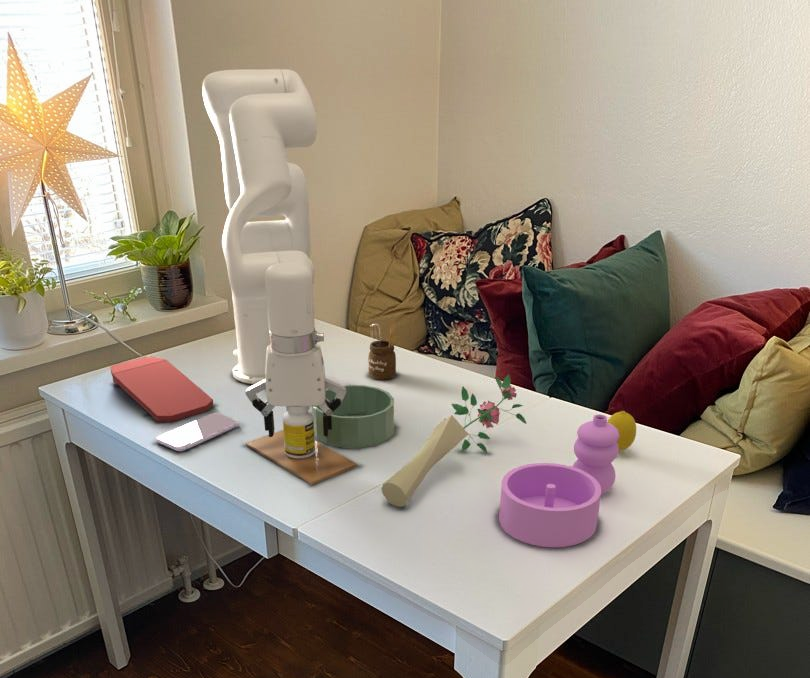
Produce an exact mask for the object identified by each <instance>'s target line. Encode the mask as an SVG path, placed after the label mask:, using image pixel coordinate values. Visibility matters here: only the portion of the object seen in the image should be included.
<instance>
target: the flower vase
mask: <svg viewBox="0 0 810 678" xmlns="http://www.w3.org/2000/svg"><path fill="white" fill-rule="evenodd" d="M494 380H495V381H496V384H497V385H498V388H499V390H500V393H501V397H502V398H501V400H500V401H499V402H498V403H497V404H496V403H495V402H494V401H493V402H492V401H490V400H487V401H483V402H482V404H479V408H477V409H476V410H477V412H478V413H477V418H475V419H473V420H472V421H471V417H469V423H468V424H465V425H464V426H462V425H461V424H460V422H459V421H458V420H457V418H455V417H454V416H453V415H457V416H463V415H465V418H464V421H466V419H467V416H471V413H472V411H469V408H468V406H467V401H468V400H469V399H470V405H471V406H472V408H471V409H473V407H475V406H477V405H478V401H477V397H476V396H475V395H474V393H473V392H472V393H471V395H469V393H468V390H467V389H466V387H465V386H462V387H461V391H460V393H461V400H462V401H464V403H465V405H464V406H463V405H461V404H458V403H451V406H452V409H454V411H455V412H453V415H452V414H451V415H449V416H448V417H447V418H444V419H443V420H442V421H441V422H439V423H438V424H437V425H436V426H435V428H434V429H433V431H432V432H431V433H430V435H429V437H428V438H427V439H426V441H425V442H424V444H423V445H422V447H421V448H420V450H419V451H418V452H417V453H416V454H415V455H414V456H413V457H412V458H411V459H410V460H408V462H407V463H406V464H405V465H404V466H403V467H401V468H400V469H399V470H398V471H396V472H395V473H394V474H393V475H392V476H391V477H390V478H388V479H387V480H386V481H385V482H384V483H383V484H382V485H381V493H382V495H383V497H384V498H385V500H386V501H387V502H389V504H391V505H392V506H396V507H399V508H400V507H404V506H406V505H407V503H408V502H409V501H410V499H411V498H412V496H413V495H414V493H415V492H416V490H417V489H418V488H419V487H420V485H421V484H422V482H423V481H424V479H425V478H426V477H427V475H428V474H429V473H430V471H431V470H432V469H433V467H435V466H436V464H438V463H439V462H440V461H441V460H442V459H443V458H445V457H446V455H448V454H449V452H451V451H452V450H453V449H454V448H455V447H457V445H458V444H460V443H461V442H462V441H463V442H462V444H461V452H462V453H463V452H465V451H467V450H468V449H469V448H470V447H471V442H470V441H469V440H470V439H472V441H473V442H475V440H474V439H473V438H472V434H469V433H468V431H467V430H466V428H467V427H469V426H470V425H472V424H473V423H475V422H477V421H478V422H479V423H480V424H481V425H482V427H485V426H486V427H485V428H486V429H490V428H494V425H493V424H495V425H498V424H499V422H500V414H501V411H503V412H506V413H508V414H511V415H513V416H515V417H516V419H518V420H519V421H521V422H522V423H523V424H525V425H527V421H526V419H525V417H524V416H523V414H521V413H519V412H518V413H516V414H514V413H512V412H509V411H510V409H506V410H504V409H502V408H500V407H499V405H500V404H502V403H503V401H505V400H506V399H507V401H510V400H513V398H514V399H515V398H517V395H518V394H517V390H516V388H515V386H513V387H512V385H511V376H510V374H507V375H506V376H505V377H504V378H503V380H501V379H500V378H499V377H496V376H494ZM521 407H524V405H523V404H521V403H515V404H513V405H512V407H511V409H516V408H521ZM500 410H501V411H500ZM467 436H469V438H468V439H466V437H467ZM474 436H475V437H478V438H479V439H483V440H490V439H491V437H490V436H489V435H488V434H487V433H485V432H483V431H479V432H478V434H477V435H475V434H474ZM476 446H477V447H478V448H479V449H480V450H481V451H483V452H484V453H485V454H488V449H487V447H486V446H485V444H484V443H482V442H478V443H476Z"/></svg>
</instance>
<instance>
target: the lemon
mask: <svg viewBox="0 0 810 678" xmlns="http://www.w3.org/2000/svg"><path fill="white" fill-rule="evenodd" d="M607 422H608V423H610V424H612V425H613V426H614V427H616V428H617V429H618V432H619V439H618V440H617V444H618V447H619V452H621V451H624V450H627V449H628V448H630V447H631V446H632V445H633V443H634V442H635V440H636V436H637V424H636V420H635V418H634V417H633V416H632V415H631V414H630V413H628V412H626V411H625V410H621V411H618V412H615V413H613V414H612V415H611V416H610V417H609V418H607Z"/></svg>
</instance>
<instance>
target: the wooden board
mask: <svg viewBox="0 0 810 678" xmlns="http://www.w3.org/2000/svg"><path fill="white" fill-rule="evenodd" d="M245 445H246V447H248V448H250V449H251V450H253V451H254V452H256V453H258V454H259V455H261V456H263V457H265V458H266V459H268V460H270V462H273V463H274V464H276V465H278V466H279V467H281V468H283V469H285V470H286V471H288V472H289V473H291V474H293V475H295V476H297V477H298V478H299V479H301V480H302V481H304V482H306V483H308V484H310V485H311V486H313V485H315V484H317V483H321V482H323V481H325V480H328V479H330V478H333V477H335V476H338V475H340V474H343V473H345V472H348V471H350V470H352V469H355V468H358V463H356V462H355V461H353V460H351V459H349V458H348V457H346V456H345V455H342V454H340V453H338V452H337V451H335V450H333V449H331V448H329V447H327V446H326V445H323V443H320V442H318V441H316V440H315V452H314V454H313V455H312V456H310V457H308V458H303V459H295V458H291V457H289V456H287V455H286V453H285V446H284V430H283V429H281V430H278V431H276V432H274V435H273V436H272V437H269V434H267V435H265V436H264V435H263V436H262V437H259V438H256V439H253V440H249V441H248V442H245Z"/></svg>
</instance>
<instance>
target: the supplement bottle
mask: <svg viewBox="0 0 810 678" xmlns="http://www.w3.org/2000/svg"><path fill="white" fill-rule="evenodd" d="M285 410H286V412H285V413H284V414H283V416H282V427H283V429H282V430H284V446H285V453H286V455H287V456H289V457H291V458H295V459H303V458H308V457H310V456H312V455H313V454H314V452H315V441H316V440H315V439H316V438H315V434H314V418H313V415H312V411H310V406H285Z"/></svg>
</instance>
